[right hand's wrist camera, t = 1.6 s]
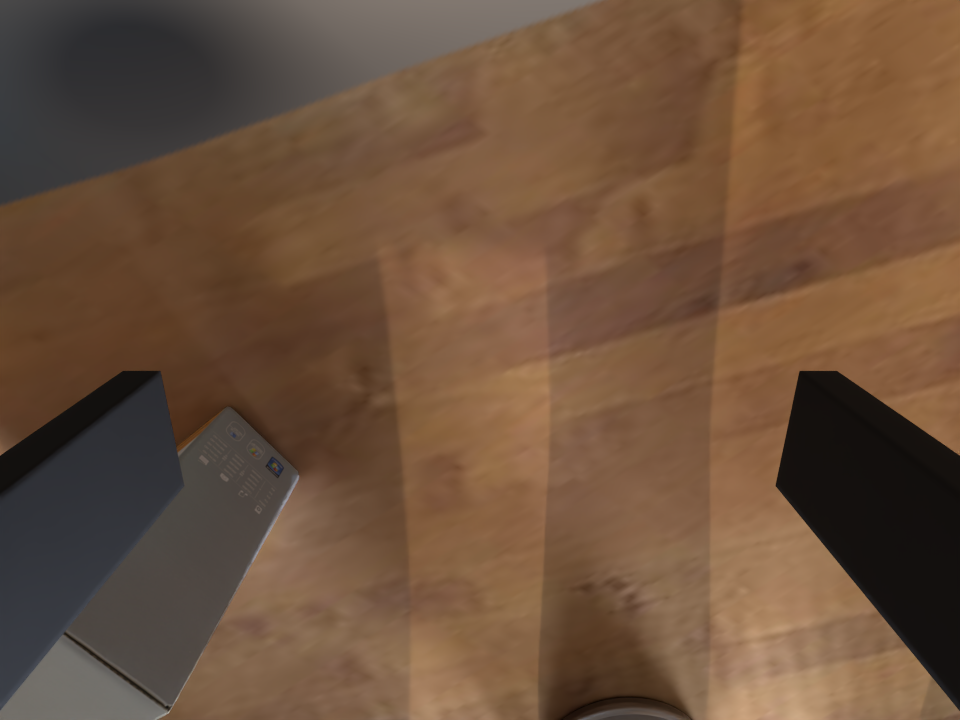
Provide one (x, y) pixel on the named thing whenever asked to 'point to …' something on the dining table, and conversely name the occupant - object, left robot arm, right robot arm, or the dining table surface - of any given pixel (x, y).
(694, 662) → the dining table surface
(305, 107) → the dining table surface
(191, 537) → the hard drive box
